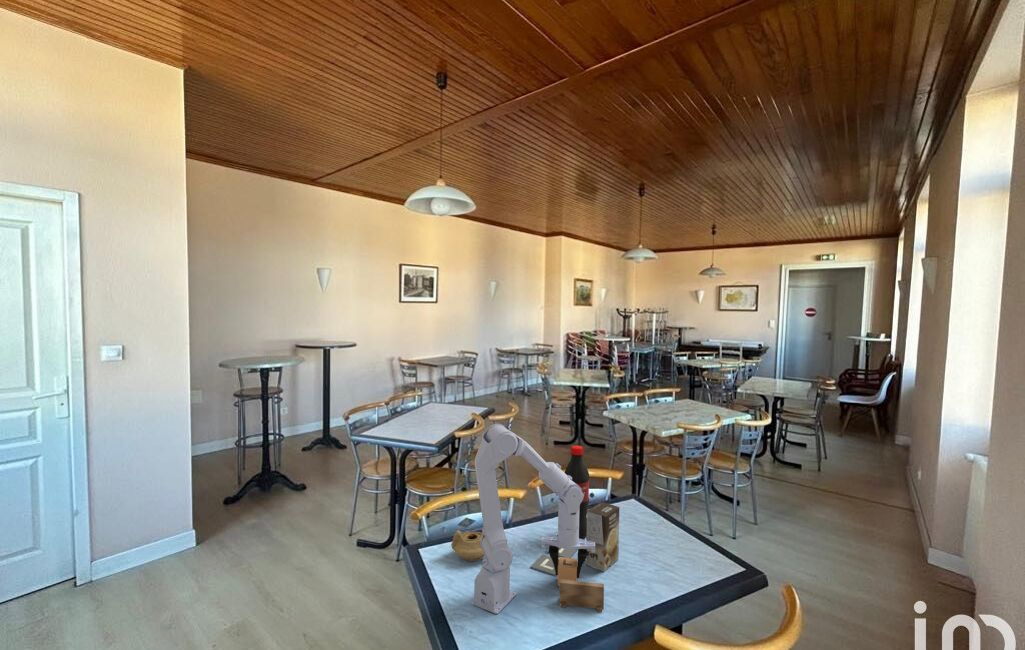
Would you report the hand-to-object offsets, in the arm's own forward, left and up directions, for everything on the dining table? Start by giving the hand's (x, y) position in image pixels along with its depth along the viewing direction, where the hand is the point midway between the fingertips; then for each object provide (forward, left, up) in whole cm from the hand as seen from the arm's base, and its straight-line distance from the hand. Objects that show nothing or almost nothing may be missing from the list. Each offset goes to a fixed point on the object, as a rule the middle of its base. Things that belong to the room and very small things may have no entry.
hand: (567, 574), depth 120 cm
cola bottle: (+27, +8, -3) cm, 28 cm away
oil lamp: (-1, +29, -3) cm, 30 cm away
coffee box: (+16, -5, -3) cm, 16 cm away
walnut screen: (-6, -7, -3) cm, 10 cm away
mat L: (+6, +8, -3) cm, 10 cm away
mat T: (+16, +8, -3) cm, 18 cm away
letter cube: (0, 0, -2) cm, 2 cm away
